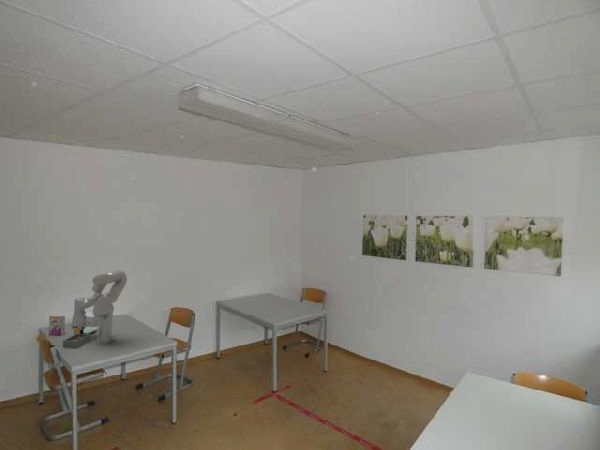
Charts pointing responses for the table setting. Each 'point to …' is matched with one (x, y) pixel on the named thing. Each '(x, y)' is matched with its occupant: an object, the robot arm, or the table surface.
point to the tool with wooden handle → (86, 330)
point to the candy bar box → (56, 324)
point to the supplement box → (92, 319)
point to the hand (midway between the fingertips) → (78, 334)
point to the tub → (76, 344)
